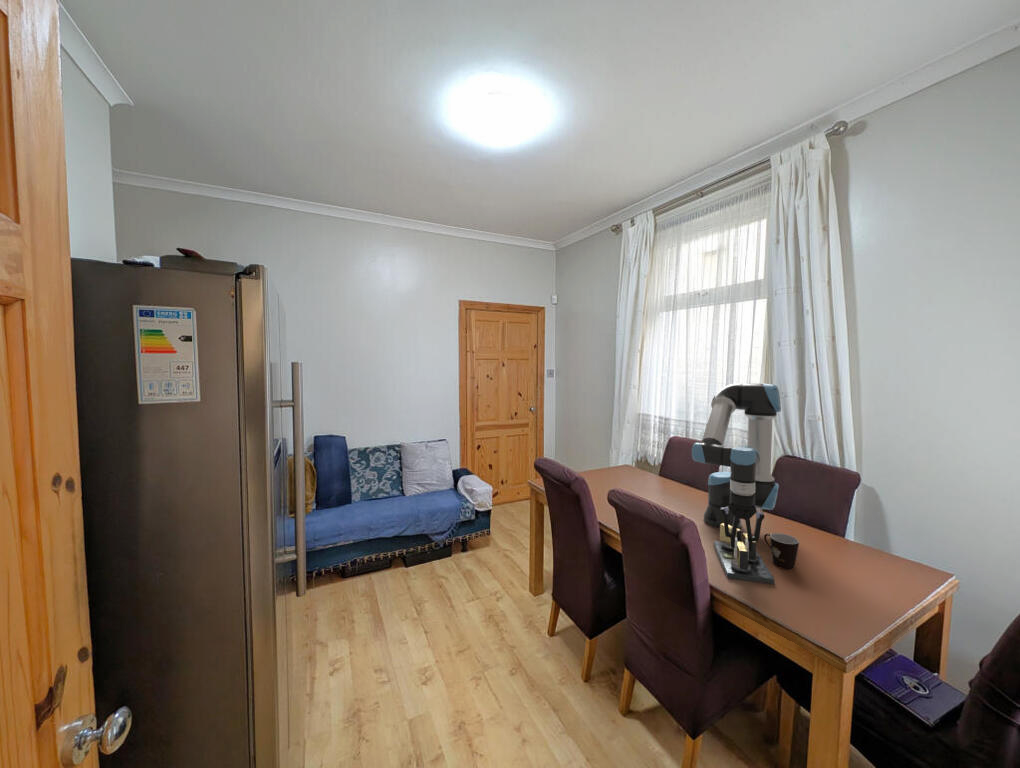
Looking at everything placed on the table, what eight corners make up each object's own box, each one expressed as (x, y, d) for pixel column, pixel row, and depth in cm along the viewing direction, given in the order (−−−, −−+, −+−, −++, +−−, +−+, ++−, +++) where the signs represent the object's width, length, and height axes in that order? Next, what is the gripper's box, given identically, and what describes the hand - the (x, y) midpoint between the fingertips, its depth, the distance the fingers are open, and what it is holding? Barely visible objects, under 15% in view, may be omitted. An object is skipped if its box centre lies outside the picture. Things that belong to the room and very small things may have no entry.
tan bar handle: (729, 561, 139) (729, 540, 138) (747, 564, 137) (748, 542, 136) (733, 572, 132) (734, 550, 131) (753, 575, 130) (754, 552, 129)
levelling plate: (713, 545, 155) (713, 539, 155) (753, 550, 151) (753, 544, 151) (727, 578, 132) (727, 571, 132) (774, 584, 128) (774, 577, 128)
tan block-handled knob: (716, 544, 152) (716, 524, 151) (727, 541, 154) (727, 522, 153) (733, 552, 145) (734, 532, 144) (744, 549, 147) (744, 529, 147)
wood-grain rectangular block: (737, 552, 145) (737, 532, 144) (755, 555, 143) (755, 534, 142) (742, 562, 138) (742, 541, 137) (761, 565, 136) (762, 543, 136)
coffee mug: (803, 572, 135) (804, 545, 134) (776, 570, 137) (776, 543, 136) (786, 555, 146) (787, 530, 146) (761, 554, 148) (762, 528, 147)
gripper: (717, 492, 133) (716, 558, 134) (771, 499, 126) (769, 567, 127) (716, 486, 139) (715, 548, 141) (767, 491, 133) (765, 557, 134)
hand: (741, 557), depth 134 cm, fingers closed on tan bar handle, 3 cm apart
